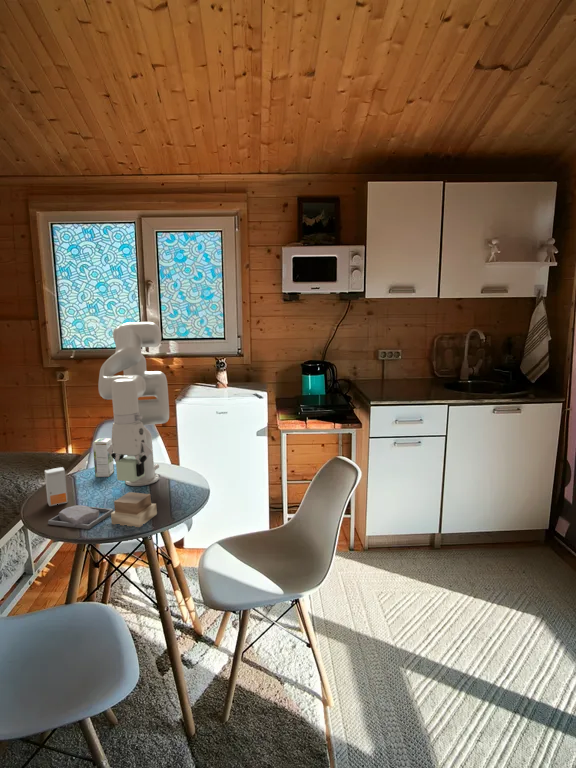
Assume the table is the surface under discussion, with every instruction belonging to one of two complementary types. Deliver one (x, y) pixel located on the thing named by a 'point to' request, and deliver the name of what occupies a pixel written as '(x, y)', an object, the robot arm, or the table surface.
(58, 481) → the skincare box
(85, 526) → the tray rim
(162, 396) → the robot arm
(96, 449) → the syrup box
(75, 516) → the stone block
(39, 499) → the table surface
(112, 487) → the table surface
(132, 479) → the green cube
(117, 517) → the beech block
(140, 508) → the walnut block
